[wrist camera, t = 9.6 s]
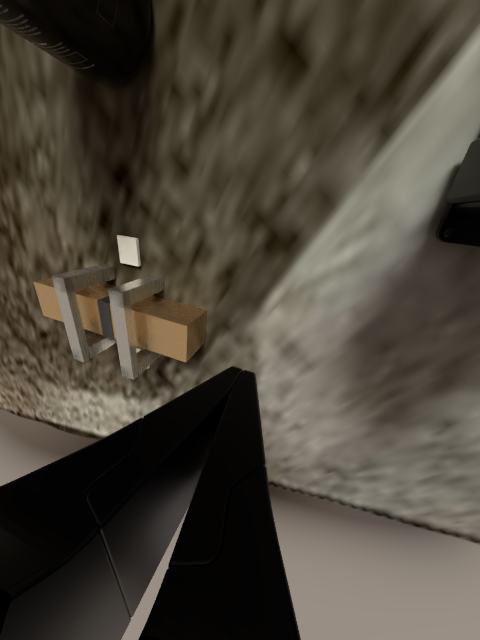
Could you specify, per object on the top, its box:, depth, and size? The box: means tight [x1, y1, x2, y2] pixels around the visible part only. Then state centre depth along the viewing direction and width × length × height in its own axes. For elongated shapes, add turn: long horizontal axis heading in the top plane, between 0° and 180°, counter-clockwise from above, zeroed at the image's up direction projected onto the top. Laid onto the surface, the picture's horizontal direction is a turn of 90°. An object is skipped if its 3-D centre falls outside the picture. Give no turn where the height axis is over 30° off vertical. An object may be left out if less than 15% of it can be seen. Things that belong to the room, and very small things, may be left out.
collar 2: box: [108, 275, 164, 380], centre depth 20 cm, size 1×8×5 cm, turn 174°
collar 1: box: [52, 265, 117, 362], centre depth 21 cm, size 1×8×5 cm, turn 173°
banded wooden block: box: [34, 278, 207, 362], centre depth 21 cm, size 16×4×4 cm, turn 82°
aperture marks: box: [117, 235, 150, 369], centre depth 23 cm, size 2×14×1 cm, turn 173°
